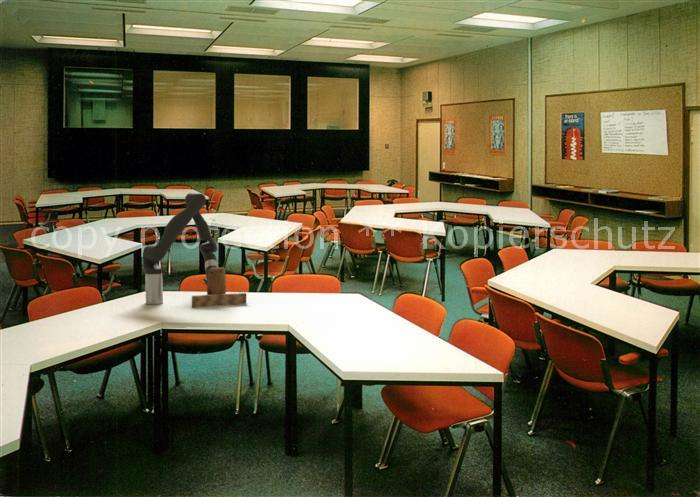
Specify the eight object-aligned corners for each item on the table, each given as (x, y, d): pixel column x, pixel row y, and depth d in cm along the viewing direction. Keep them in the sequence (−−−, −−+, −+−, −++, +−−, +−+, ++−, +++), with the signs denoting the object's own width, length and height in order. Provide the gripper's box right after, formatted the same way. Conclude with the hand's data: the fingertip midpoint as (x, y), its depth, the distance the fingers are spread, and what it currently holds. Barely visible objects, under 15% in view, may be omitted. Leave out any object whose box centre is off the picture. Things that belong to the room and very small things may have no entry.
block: (226, 300, 347) (226, 266, 345) (225, 302, 339) (224, 268, 337) (207, 300, 345) (207, 266, 344) (206, 302, 338) (205, 268, 336)
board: (192, 307, 325) (192, 296, 324) (191, 306, 328) (191, 295, 327) (246, 303, 336) (246, 293, 335) (245, 302, 339) (245, 292, 338)
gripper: (201, 265, 351) (204, 289, 341) (223, 264, 356) (227, 287, 346) (200, 273, 356) (203, 296, 346) (222, 272, 361) (225, 295, 351)
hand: (215, 292), depth 346 cm, fingers closed
